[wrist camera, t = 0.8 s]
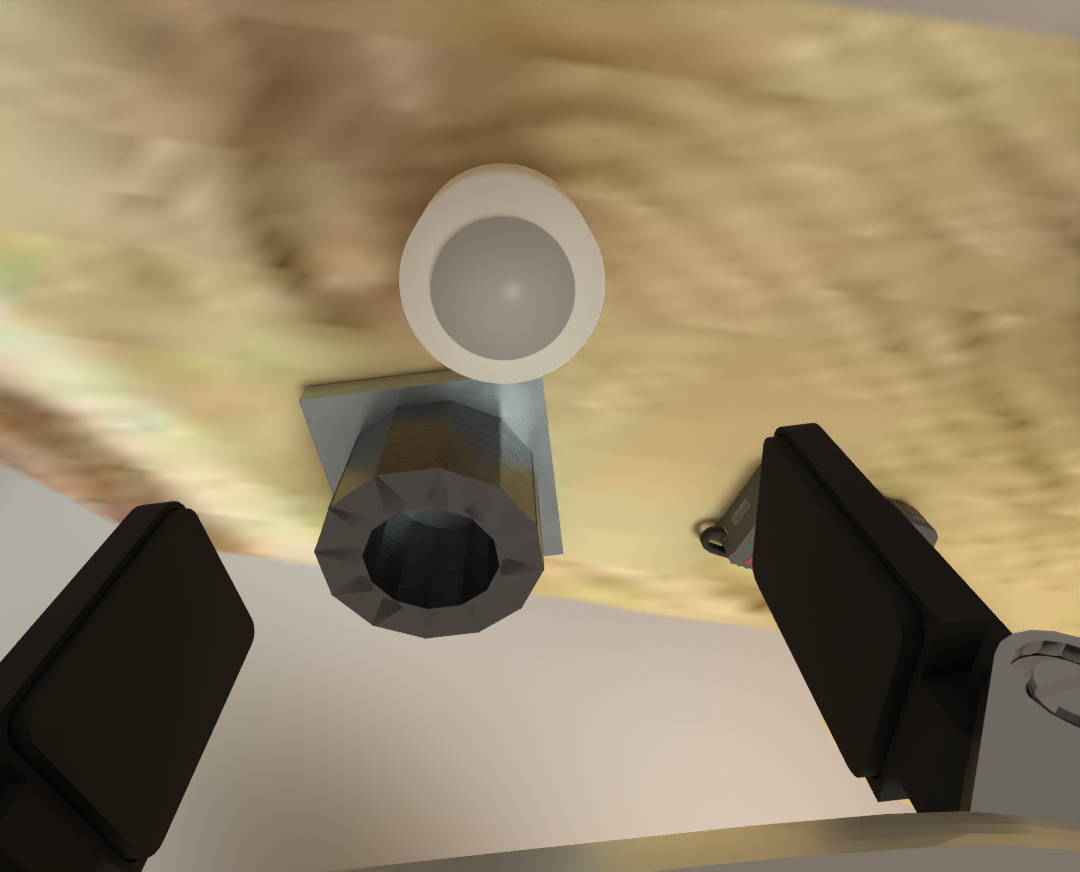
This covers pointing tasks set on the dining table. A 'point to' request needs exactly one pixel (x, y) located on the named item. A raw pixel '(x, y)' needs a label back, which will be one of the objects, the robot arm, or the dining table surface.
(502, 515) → the gray square-based holder
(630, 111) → the dining table surface
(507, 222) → the cup
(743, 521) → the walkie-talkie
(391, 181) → the dining table surface
